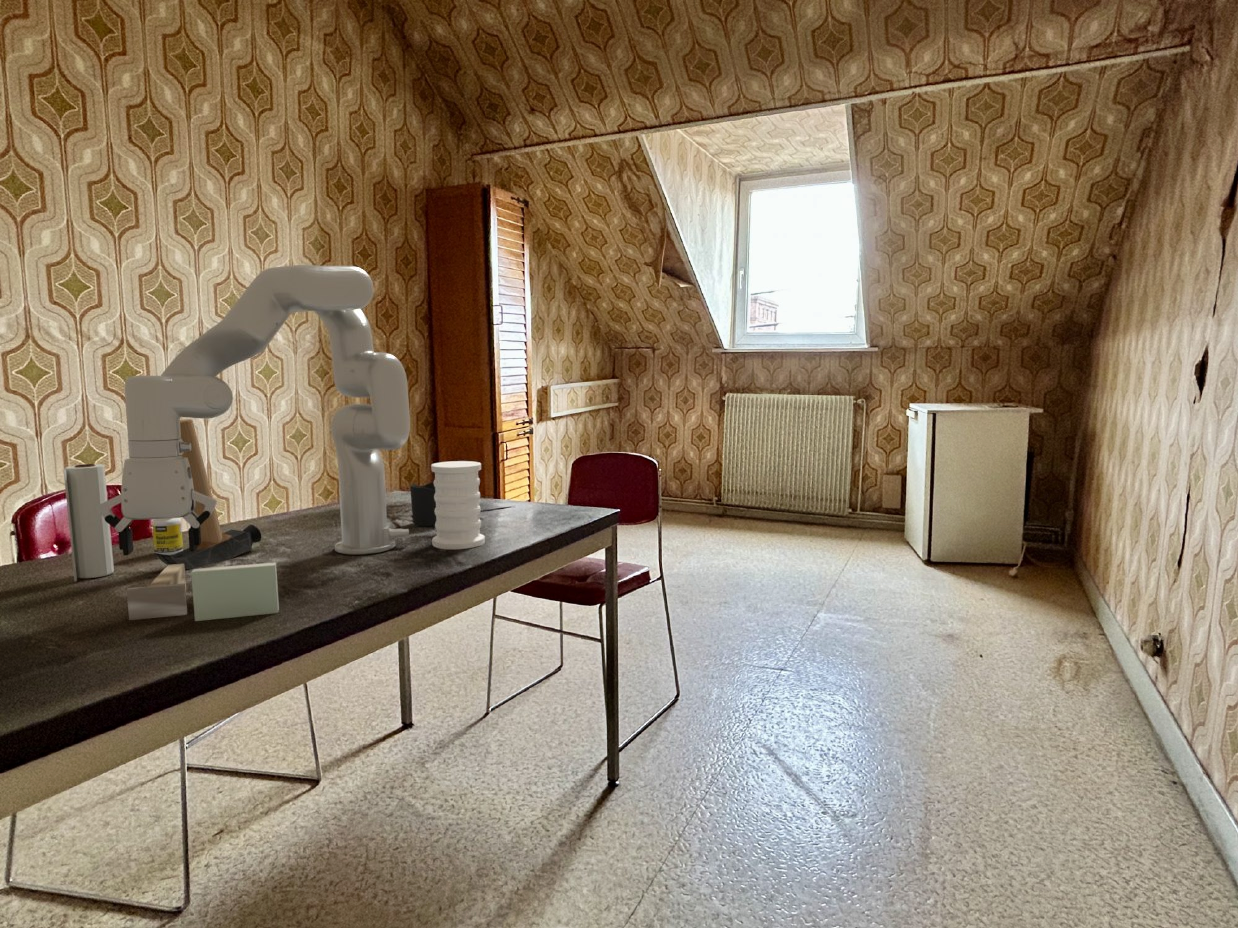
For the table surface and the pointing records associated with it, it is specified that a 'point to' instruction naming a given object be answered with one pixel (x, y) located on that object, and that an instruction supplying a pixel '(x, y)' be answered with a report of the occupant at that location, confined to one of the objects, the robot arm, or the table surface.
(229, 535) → the hammer
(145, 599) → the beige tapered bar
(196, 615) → the tile
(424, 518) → the pen holder
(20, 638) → the table surface
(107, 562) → the paper towel roll
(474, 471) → the decorative container
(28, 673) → the table surface
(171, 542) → the supplement bottle
